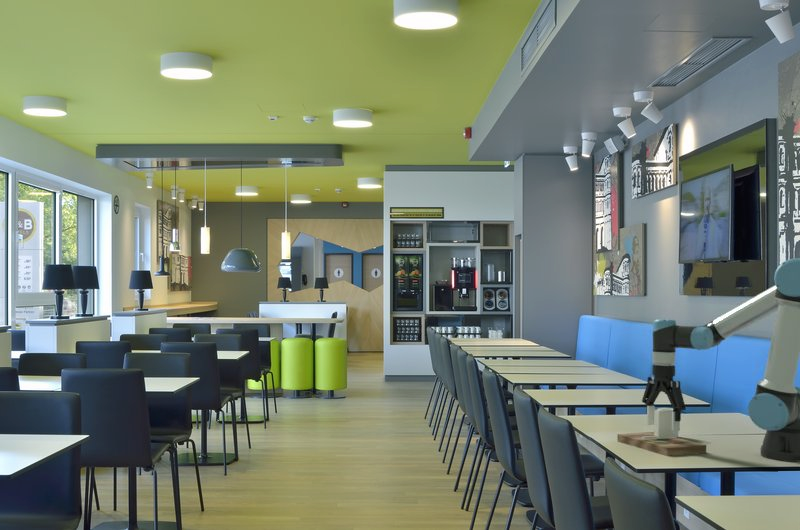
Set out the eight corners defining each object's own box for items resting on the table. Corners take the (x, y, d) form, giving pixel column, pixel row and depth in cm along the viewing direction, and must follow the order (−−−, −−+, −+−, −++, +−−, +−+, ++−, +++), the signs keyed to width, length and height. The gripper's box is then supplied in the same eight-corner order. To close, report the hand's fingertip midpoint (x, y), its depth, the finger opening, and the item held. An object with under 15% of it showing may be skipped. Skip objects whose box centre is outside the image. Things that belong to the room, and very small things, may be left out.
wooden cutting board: (706, 452, 275) (706, 444, 275) (667, 455, 269) (667, 447, 269) (654, 438, 299) (654, 431, 299) (617, 441, 293) (617, 433, 293)
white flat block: (671, 438, 285) (671, 410, 285) (645, 439, 280) (645, 411, 281) (667, 436, 287) (667, 409, 287) (640, 438, 282) (641, 410, 283)
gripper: (697, 367, 275) (696, 433, 275) (649, 360, 298) (648, 421, 297) (679, 368, 273) (678, 434, 272) (632, 361, 295) (631, 422, 295)
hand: (662, 427), depth 285 cm, fingers open, 12 cm apart
